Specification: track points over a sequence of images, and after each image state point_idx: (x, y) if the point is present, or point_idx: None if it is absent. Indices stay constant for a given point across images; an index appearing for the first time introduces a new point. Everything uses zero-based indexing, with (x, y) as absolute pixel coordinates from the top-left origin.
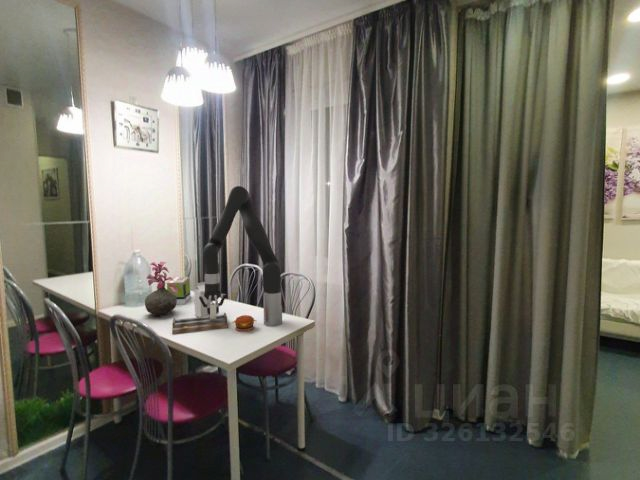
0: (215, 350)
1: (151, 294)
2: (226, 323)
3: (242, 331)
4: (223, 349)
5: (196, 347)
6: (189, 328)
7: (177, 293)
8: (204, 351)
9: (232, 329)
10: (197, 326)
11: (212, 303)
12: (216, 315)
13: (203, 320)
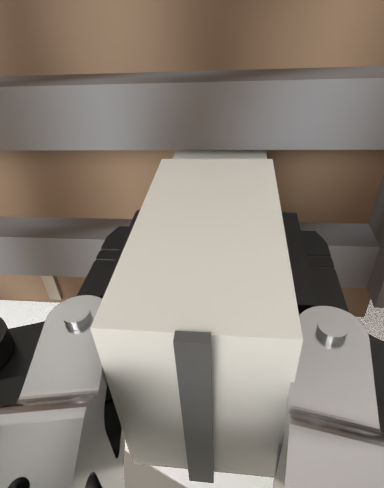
0: (214, 479)
1: None
2: (355, 305)
3: None
4: (249, 483)
5: (126, 443)
6: (3, 298)
7: None
8: (167, 472)
9: (378, 330)
10: (63, 286)
11: (186, 423)
12: (285, 87)
13: (95, 248)
